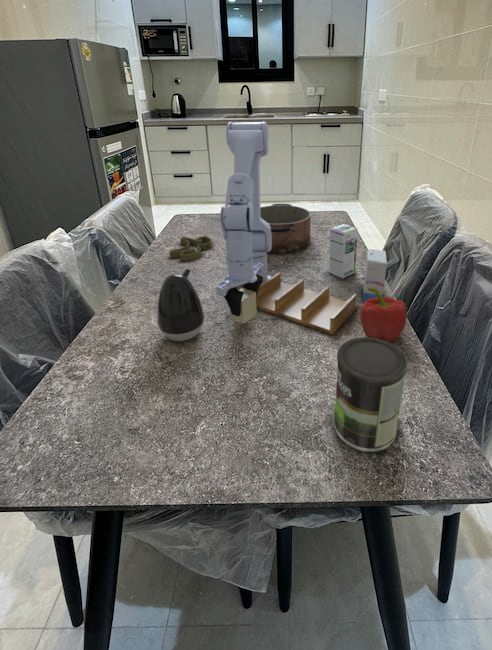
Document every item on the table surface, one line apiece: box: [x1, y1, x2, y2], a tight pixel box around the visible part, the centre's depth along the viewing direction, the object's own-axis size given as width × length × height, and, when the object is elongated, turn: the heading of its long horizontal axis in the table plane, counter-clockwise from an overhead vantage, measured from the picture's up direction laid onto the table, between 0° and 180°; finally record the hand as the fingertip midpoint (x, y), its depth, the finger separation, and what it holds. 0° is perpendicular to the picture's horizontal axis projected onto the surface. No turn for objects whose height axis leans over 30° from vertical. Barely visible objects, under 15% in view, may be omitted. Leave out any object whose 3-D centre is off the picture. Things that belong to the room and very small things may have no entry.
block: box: [229, 287, 258, 325], centre depth 90 cm, size 4×5×6 cm
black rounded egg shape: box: [156, 268, 205, 342], centre depth 85 cm, size 10×10×15 cm
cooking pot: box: [260, 203, 312, 255], centre depth 137 cm, size 30×22×11 cm
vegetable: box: [359, 287, 408, 343], centre depth 85 cm, size 11×10×10 cm
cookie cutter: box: [169, 235, 213, 261], centre depth 134 cm, size 18×12×2 cm, turn 175°
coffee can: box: [333, 336, 408, 453], centre depth 61 cm, size 10×10×14 cm
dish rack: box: [256, 272, 358, 336], centre depth 97 cm, size 24×14×4 cm, turn 56°
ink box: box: [363, 248, 388, 303], centre depth 101 cm, size 9×5×12 cm, turn 168°
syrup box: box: [328, 223, 358, 279], centre depth 113 cm, size 6×6×14 cm
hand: (243, 309), depth 90 cm, fingers closed on block, 5 cm apart
